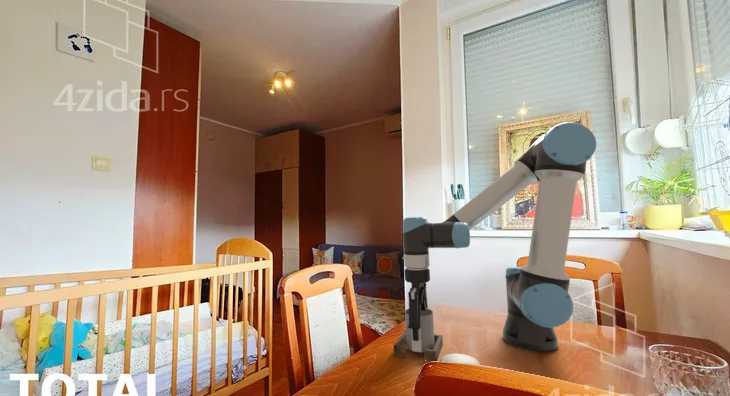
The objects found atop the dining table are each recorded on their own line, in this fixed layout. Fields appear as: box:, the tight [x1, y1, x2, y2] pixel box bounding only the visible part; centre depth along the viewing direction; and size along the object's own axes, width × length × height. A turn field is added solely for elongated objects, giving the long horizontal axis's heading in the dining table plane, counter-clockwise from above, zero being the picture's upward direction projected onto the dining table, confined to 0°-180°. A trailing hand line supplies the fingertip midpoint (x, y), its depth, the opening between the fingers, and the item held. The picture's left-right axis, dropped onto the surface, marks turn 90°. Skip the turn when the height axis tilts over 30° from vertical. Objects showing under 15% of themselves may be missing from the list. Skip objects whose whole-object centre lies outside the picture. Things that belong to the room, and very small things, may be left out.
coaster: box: [440, 353, 481, 365], centre depth 81 cm, size 10×10×1 cm
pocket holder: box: [393, 330, 444, 363], centre depth 89 cm, size 12×12×3 cm
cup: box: [404, 308, 435, 353], centre depth 89 cm, size 8×8×10 cm
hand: (420, 344), depth 89 cm, fingers closed on cup, 8 cm apart
